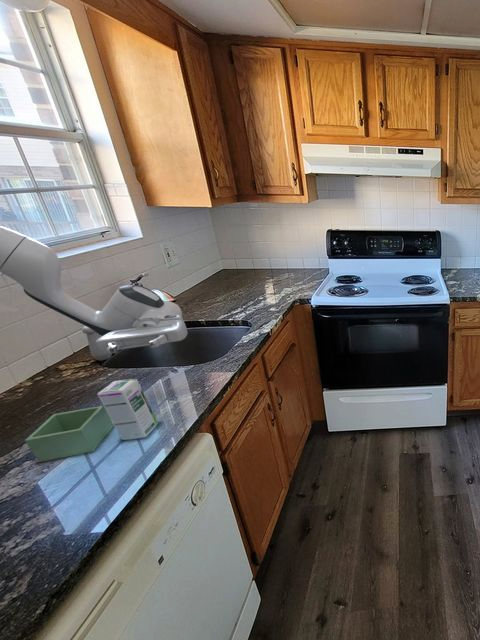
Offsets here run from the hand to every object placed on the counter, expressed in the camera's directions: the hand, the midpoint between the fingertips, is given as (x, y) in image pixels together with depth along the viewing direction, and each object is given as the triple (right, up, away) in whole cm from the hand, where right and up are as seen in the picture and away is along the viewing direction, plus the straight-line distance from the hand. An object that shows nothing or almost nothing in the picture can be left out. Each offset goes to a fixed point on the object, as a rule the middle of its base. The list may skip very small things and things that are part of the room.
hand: (132, 348), depth 98 cm
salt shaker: (-44, -5, +38) cm, 58 cm away
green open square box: (-9, -24, -6) cm, 26 cm away
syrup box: (+4, -22, -3) cm, 23 cm away
